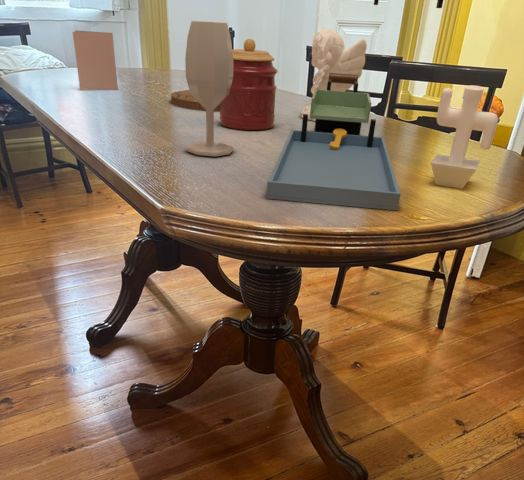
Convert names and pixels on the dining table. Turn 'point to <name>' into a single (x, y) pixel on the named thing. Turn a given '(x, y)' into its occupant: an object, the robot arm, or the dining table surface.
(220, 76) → the wineglass
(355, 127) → the stand
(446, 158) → the figurine
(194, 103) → the trivet
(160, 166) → the dining table surface
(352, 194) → the tray
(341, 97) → the green dustpan
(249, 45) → the kitchen canister
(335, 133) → the key
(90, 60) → the greeting card
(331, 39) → the cherub figurine
